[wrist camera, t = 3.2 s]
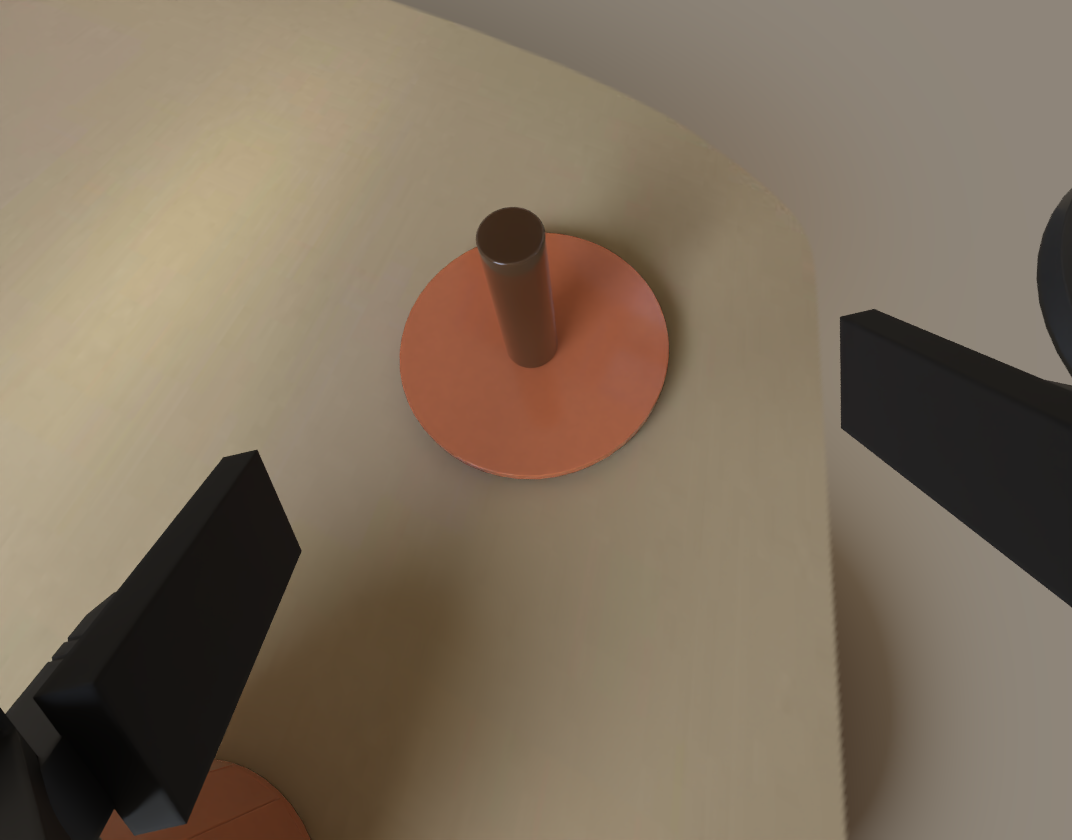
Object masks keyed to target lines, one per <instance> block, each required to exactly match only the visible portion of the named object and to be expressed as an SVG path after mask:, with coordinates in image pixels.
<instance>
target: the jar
mask: <svg viewBox="0 0 1072 840" xmlns="http://www.w3.org/2000/svg"><path fill="white" fill-rule="evenodd" d="M100 837H101V839H102V840H311V839H310V837H309V835H308V832H307V830H306V828H305V826H304V824H303V822H302V820H301V819H300V817H299V816H298V814H297V813H296V811H295V810H294V808H293V807H292V805H291V804H290V803H289V802H288V801H287V799H286V798H285V797H284V796H283V795H282V794H281V793H280V792H279V791H278V790H277V789H276V788H275V787H274V786H273V785H271V784H270V783H269V782H268V781H267V780H265V779H264V778H263V777H261V776H259V775H258V774H256V773H254V772H252V771H251V770H249V769H247V768H245V767H242V766H239V765H237V764H234V763H232V762H227V761H223V760H218V759H214V760H213V763H212V765H211V767H210V770H209V772H208V775H207V777H206V779H205V782H204V784H203V786H202V789H201V791H200V794H199V796H198V798H197V801H196V803H195V805H194V808H193V810H192V813H191V815H190V817H189V820H188V822H187V824H184V825H180V826H175V827H171V828H167V829H162V830H158V831H153V832H149V833H145V834H140V835H136V836H134V835H133V833H132V832H131V831H130V829H129V828H128V827H127V825H126V824H125V823H124V821H123V820H122V819H121V817H120V816H119V814H118V813H117V812H116V810H115V809H114V811H113V812H112V814H111V816H110V818H109V820H108V822H107V824H106V825H105V827H104V829H103V831H102V833H101V835H100Z"/></svg>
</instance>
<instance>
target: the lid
mask: <svg viewBox="0 0 1072 840" xmlns="http://www.w3.org/2000/svg"><path fill="white" fill-rule="evenodd" d="M476 244H477V247H475V248H473V249H471V250H469V251H467V252H466V253H464V254H462V255H461V256H459V257H458V258H456V259H455V260H453V261H452V262H451V263H449V264H448V265H447V266H446V267H445V268H443V269H442V270H441V271H440V272H439V273H438V274H437V275H436V276H435V277H434V278H433V279H432V280H431V281H430V282H429V283H428V285H427V286H426V287H425V289H424V290H423V291H422V293H421V294H420V295H419V297H418V299H417V301H416V302H415V304H414V306H413V308H412V309H411V312H410V314H409V317H408V319H407V321H406V324H405V328H404V332H403V335H402V339H401V348H400V373H401V379H402V385H403V388H404V392H405V395H406V398H407V401H408V403H409V405H410V407H411V409H412V411H413V413H414V415H415V417H416V418H417V420H418V421H419V422H420V424H421V425H422V427H423V428H424V430H425V431H426V432H427V433H428V434H429V436H430V437H431V438H432V439H433V440H434V441H435V442H436V443H437V444H438V445H439V446H440V447H441V448H443V449H444V450H445V451H446V452H448V453H449V454H450V455H451V456H453V457H455V458H456V459H458V460H460V461H461V462H463V463H465V464H467V465H469V466H471V467H474V468H476V469H478V470H481V471H483V472H487V473H490V474H494V475H498V476H502V477H509V478H516V479H542V478H551V477H557V476H561V475H566V474H570V473H574V472H576V471H579V470H582V469H584V468H587V467H589V466H592V465H594V464H595V463H597V462H599V461H601V460H603V459H605V458H606V457H608V456H610V455H611V454H612V453H614V452H615V451H616V450H618V449H619V448H621V447H622V446H623V445H624V444H625V443H626V442H627V441H628V440H630V439H631V438H632V437H633V436H634V435H635V434H636V433H637V431H638V430H639V429H640V428H641V426H642V425H643V424H644V423H645V421H646V420H647V419H648V417H649V415H650V414H651V412H652V410H653V409H654V407H655V405H656V403H657V401H658V398H659V396H660V393H661V391H662V388H663V384H664V380H665V377H666V373H667V368H668V359H669V338H668V332H667V326H666V321H665V318H664V315H663V313H662V310H661V307H660V305H659V303H658V301H657V299H656V297H655V295H654V293H653V291H652V290H651V289H650V287H649V286H648V284H647V283H646V282H645V280H644V279H643V278H642V277H641V276H640V275H639V274H638V272H637V271H636V270H635V269H634V268H633V267H632V266H630V265H629V264H628V263H627V262H625V261H624V260H623V259H622V258H621V257H619V256H617V255H616V254H614V253H613V252H611V251H609V250H608V249H606V248H604V247H602V246H599V245H597V244H595V243H593V242H590V241H587V240H584V239H581V238H578V237H573V236H568V235H563V234H555V233H545V229H544V226H543V224H542V222H541V220H540V219H539V218H538V217H537V216H536V215H535V214H534V213H532V212H531V211H529V210H526V209H523V208H519V207H507V208H502V209H499V210H497V211H495V212H493V213H491V214H489V215H488V216H487V217H486V218H485V219H484V220H483V221H482V223H481V224H480V226H479V228H478V230H477V234H476Z"/></svg>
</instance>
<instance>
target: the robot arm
mask: <svg viewBox="0 0 1072 840" xmlns="http://www.w3.org/2000/svg"><path fill="white" fill-rule="evenodd" d="M840 359H841V428H842V429H843V430H844V431H846V432H847V433H848V434H849V435H851V436H852V437H853V438H855V439H856V440H857V441H859V442H860V443H861V444H863V445H864V446H865V447H866V448H867V449H869V450H870V451H871V452H873V453H874V454H875V455H876V456H878V457H879V458H881V459H882V460H883V461H884V462H885V463H887V464H888V465H890V466H891V467H892V468H893V469H894V470H896V471H897V472H898V473H900V474H901V475H902V476H904V477H905V478H906V479H907V480H909V481H910V482H911V483H913V484H914V485H915V486H916V487H918V488H919V489H920V490H921V491H923V492H924V493H926V494H927V495H928V496H929V497H931V498H932V499H933V500H934V501H936V502H937V503H938V504H940V505H941V506H942V507H943V508H945V509H946V510H947V511H949V512H950V513H951V514H952V515H954V516H955V517H956V518H958V519H959V520H960V521H961V522H963V523H964V524H965V525H967V526H968V527H969V528H971V529H972V530H973V531H974V532H976V533H977V534H978V535H979V536H981V537H982V538H983V539H985V540H986V541H987V542H989V543H990V544H991V545H992V546H994V547H995V548H996V549H997V550H999V551H1000V552H1001V553H1003V554H1004V555H1005V556H1006V557H1008V558H1009V559H1010V560H1012V561H1013V562H1014V563H1015V564H1017V565H1018V566H1019V567H1021V568H1022V569H1023V570H1025V571H1026V572H1027V573H1028V574H1030V575H1031V576H1032V577H1033V578H1035V579H1036V580H1037V581H1039V582H1040V583H1041V584H1042V585H1044V586H1045V587H1046V588H1048V589H1049V590H1050V591H1051V592H1053V593H1054V594H1055V595H1057V596H1058V597H1059V598H1061V599H1062V600H1063V601H1064V602H1066V603H1067V604H1068V605H1070V606H1071V607H1072V386H1071V385H1067V384H1062V383H1057V382H1052V381H1047V380H1043V379H1041V378H1038V377H1036V376H1034V375H1031V374H1029V373H1026V372H1024V371H1022V370H1019V369H1017V368H1014V367H1012V366H1010V365H1007V364H1005V363H1002V362H1000V361H998V360H995V359H993V358H990V357H988V356H986V355H983V354H981V353H978V352H976V351H974V350H971V349H969V348H966V347H964V346H962V345H959V344H957V343H954V342H952V341H950V340H947V339H945V338H942V337H939V336H938V335H935V334H933V333H930V332H928V331H926V330H923V329H920V328H918V327H916V326H914V325H911V324H909V323H906V322H904V321H902V320H899V319H897V318H894V317H892V316H890V315H887V314H885V313H882V312H880V311H877V310H875V309H872V310H868V311H864V312H859V313H855V314H850V315H846V316H842V317H840ZM300 554H301V548H300V546H299V544H298V541H297V539H296V537H295V535H294V532H293V530H292V528H291V525H290V523H289V521H288V519H287V516H286V514H285V512H284V510H283V507H282V505H281V503H280V500H279V498H278V496H277V494H276V491H275V489H274V487H273V484H272V482H271V480H270V478H269V475H268V473H267V471H266V468H265V466H264V464H263V462H262V459H261V457H260V455H259V452H258V450H254V451H249V452H245V453H241V454H236V455H232V456H227V457H223V458H222V460H221V461H220V462H219V464H218V465H217V466H216V467H215V469H214V470H213V471H212V472H211V474H210V475H209V476H208V477H207V479H206V480H205V481H204V482H203V484H202V485H201V486H200V487H199V489H198V490H197V491H196V492H195V494H194V495H193V496H192V498H191V499H190V500H189V501H188V503H187V504H186V505H185V506H184V508H183V509H182V510H181V511H180V513H179V514H178V515H177V516H176V518H175V519H174V520H173V521H172V523H171V524H170V525H169V526H168V528H167V529H166V530H165V532H164V533H163V534H162V535H161V537H160V538H159V539H158V540H157V542H156V543H155V544H154V545H153V547H152V548H151V549H150V550H149V552H148V553H147V554H146V555H145V557H144V558H143V559H142V560H141V562H140V563H139V564H138V565H137V567H136V568H135V569H134V571H133V572H132V573H131V574H130V576H129V577H128V578H127V579H126V581H125V582H124V583H123V584H122V586H121V587H120V588H119V589H118V591H117V592H115V593H113V594H112V595H111V596H109V597H108V598H107V599H106V600H104V601H103V602H102V603H101V604H99V605H98V606H97V607H96V608H95V609H93V610H92V611H91V612H90V613H88V614H87V615H86V616H85V617H84V619H83V620H82V621H81V622H80V624H79V625H78V626H77V627H76V628H75V630H74V631H73V632H72V633H71V635H70V636H69V637H68V642H65V643H63V644H62V645H61V647H60V648H59V649H58V650H57V652H56V653H55V654H54V655H53V656H52V661H51V662H48V663H47V664H46V665H45V666H44V667H43V669H42V670H41V671H40V672H39V674H38V675H37V676H36V677H35V678H34V680H33V681H32V682H31V683H30V685H29V686H28V687H27V688H26V689H25V691H24V692H23V693H22V694H21V696H20V697H19V698H18V699H17V700H16V702H15V703H14V704H13V705H12V707H11V708H10V709H9V710H8V711H7V713H6V714H5V713H4V712H3V711H2V709H1V708H0V840H102V839H101V837H100V835H101V833H102V831H103V829H104V827H105V825H106V824H107V822H108V820H109V818H110V816H111V814H112V812H113V811H114V809H115V810H116V812H117V813H118V814H119V816H120V817H121V819H122V820H123V821H124V823H125V824H126V825H127V827H128V828H129V829H130V831H131V832H132V833H133V835H134V836H136V835H140V834H145V833H149V832H153V831H158V830H162V829H167V828H171V827H175V826H180V825H184V824H187V822H188V820H189V817H190V815H191V813H192V810H193V808H194V805H195V803H196V801H197V798H198V796H199V794H200V791H201V789H202V786H203V784H204V782H205V779H206V777H207V775H208V772H209V770H210V767H211V765H212V763H213V760H214V758H215V756H216V753H217V751H218V748H219V746H220V744H221V741H222V739H223V736H224V734H225V732H226V729H227V727H228V725H229V722H230V720H231V717H232V715H233V713H234V710H235V708H236V706H237V703H238V701H239V698H240V696H241V694H242V691H243V689H244V687H245V684H246V682H247V679H248V677H249V675H250V672H251V670H252V668H253V665H254V663H255V660H256V658H257V656H258V653H259V651H260V649H261V646H262V644H263V641H264V639H265V637H266V634H267V632H268V630H269V627H270V625H271V622H272V620H273V618H274V615H275V613H276V611H277V608H278V606H279V603H280V601H281V599H282V596H283V594H284V592H285V589H286V587H287V584H288V582H289V580H290V577H291V575H292V573H293V570H294V568H295V565H296V563H297V561H298V558H299V556H300Z"/></svg>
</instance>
